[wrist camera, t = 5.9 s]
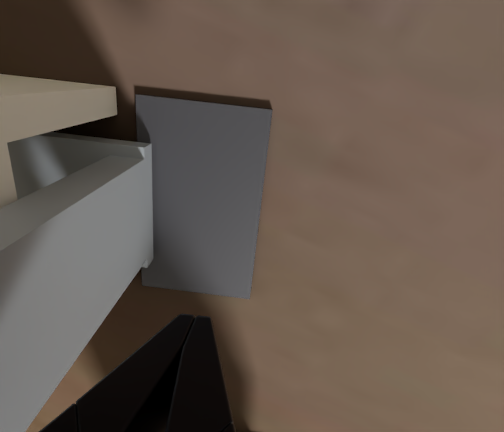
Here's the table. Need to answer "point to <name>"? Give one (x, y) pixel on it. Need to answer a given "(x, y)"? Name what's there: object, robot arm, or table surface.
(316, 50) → the table surface
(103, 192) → the bracket
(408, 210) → the table surface
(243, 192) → the tunnel
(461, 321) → the table surface
